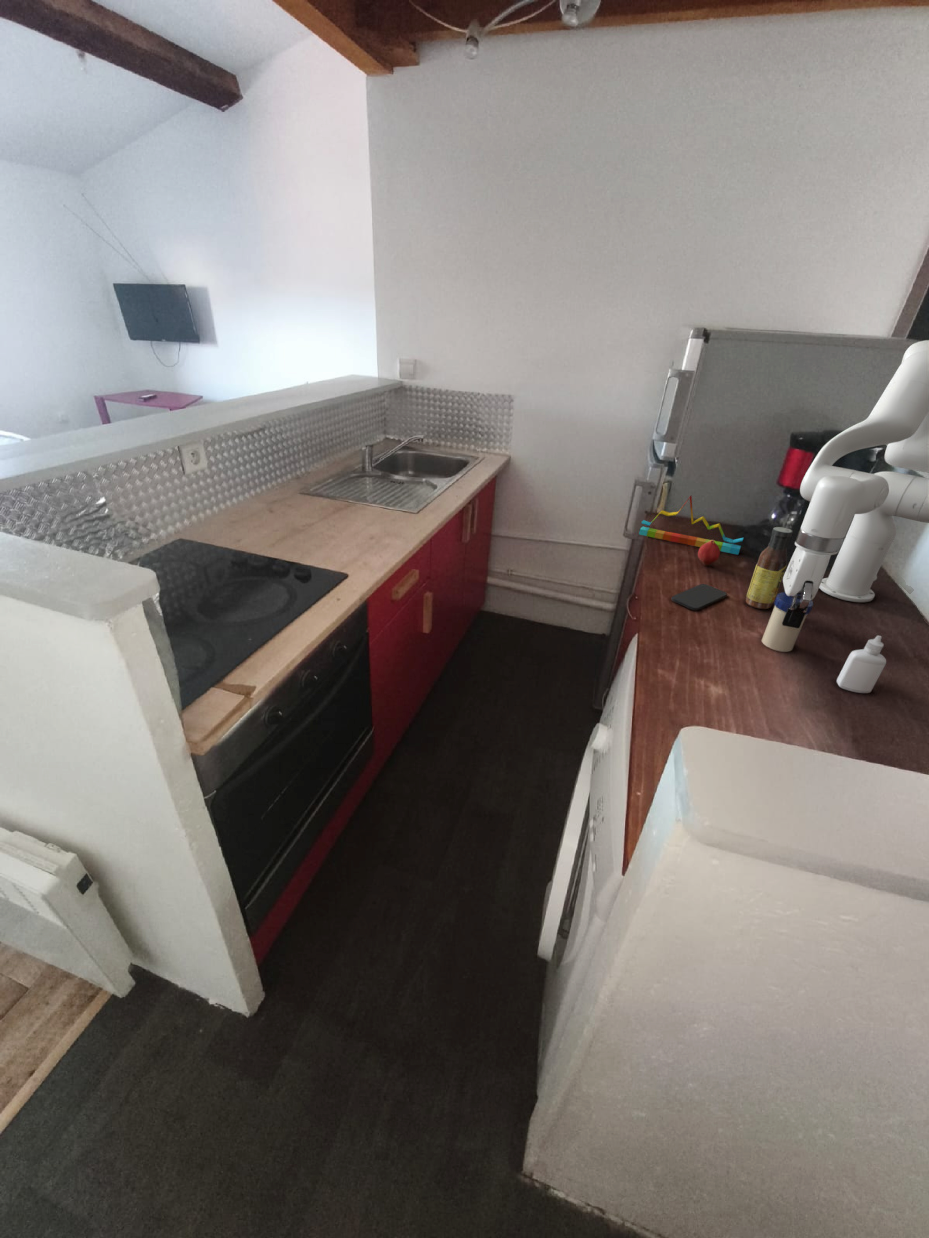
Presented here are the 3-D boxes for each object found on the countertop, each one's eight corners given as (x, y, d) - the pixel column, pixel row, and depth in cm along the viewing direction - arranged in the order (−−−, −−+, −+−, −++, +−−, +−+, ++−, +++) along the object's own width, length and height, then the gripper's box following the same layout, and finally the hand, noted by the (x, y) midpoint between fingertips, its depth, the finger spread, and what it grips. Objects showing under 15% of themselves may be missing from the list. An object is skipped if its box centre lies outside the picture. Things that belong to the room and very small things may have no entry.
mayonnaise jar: (772, 634, 117) (788, 593, 112) (798, 647, 112) (816, 605, 107) (755, 640, 115) (771, 599, 109) (781, 654, 110) (799, 612, 104)
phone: (729, 593, 132) (696, 609, 124) (728, 596, 133) (695, 612, 125) (703, 583, 137) (669, 597, 129) (702, 585, 138) (669, 600, 130)
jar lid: (766, 602, 110) (769, 595, 109) (789, 597, 113) (792, 589, 112) (794, 617, 105) (798, 609, 104) (817, 611, 107) (821, 604, 106)
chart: (739, 551, 159) (754, 504, 152) (738, 554, 157) (753, 507, 149) (641, 531, 172) (650, 487, 165) (638, 534, 170) (648, 490, 162)
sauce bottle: (774, 611, 126) (803, 536, 116) (747, 608, 127) (774, 533, 117) (766, 599, 132) (793, 526, 122) (741, 596, 133) (765, 524, 123)
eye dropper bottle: (866, 699, 97) (894, 647, 91) (833, 685, 101) (858, 634, 95) (872, 689, 100) (900, 638, 94) (839, 676, 103) (864, 626, 97)
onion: (692, 560, 152) (699, 535, 148) (713, 561, 152) (720, 536, 148) (697, 568, 148) (705, 542, 143) (718, 570, 147) (726, 544, 143)
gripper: (792, 524, 109) (766, 595, 118) (802, 553, 95) (771, 631, 104) (833, 529, 107) (803, 602, 116) (849, 560, 93) (813, 640, 102)
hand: (788, 616), depth 110 cm, fingers open, 8 cm apart
